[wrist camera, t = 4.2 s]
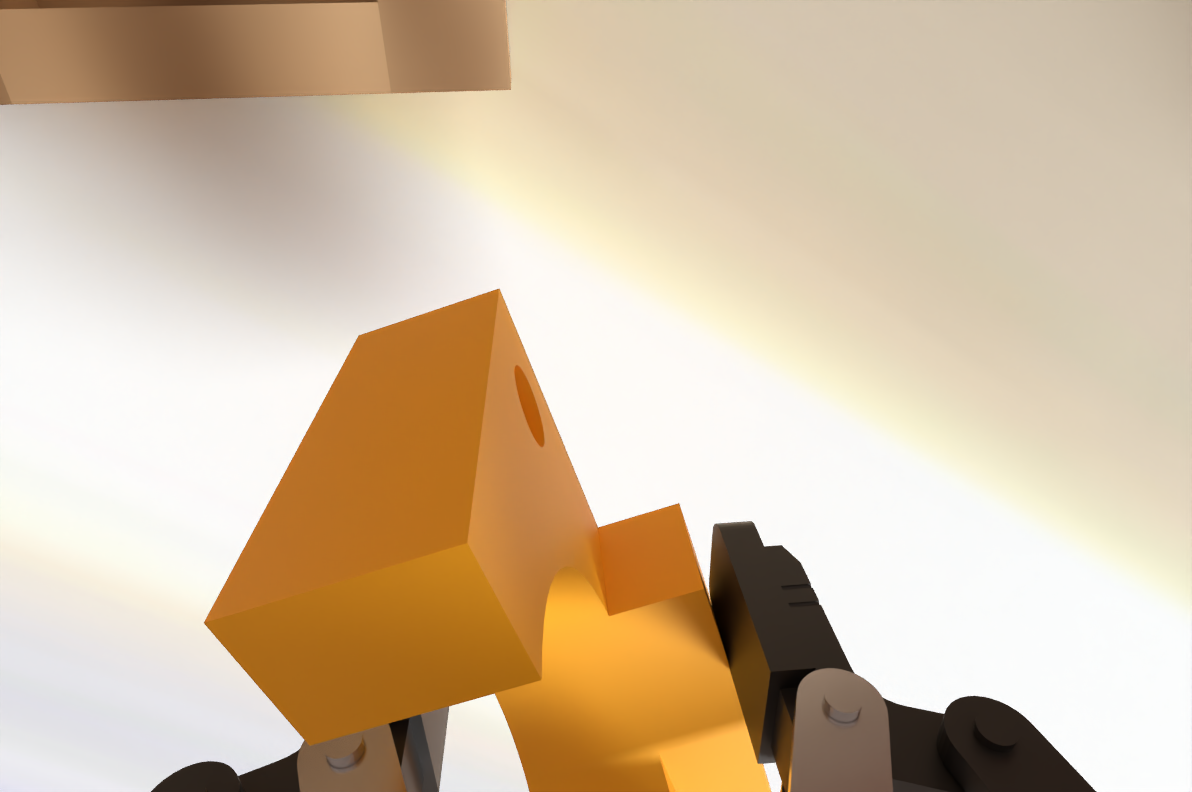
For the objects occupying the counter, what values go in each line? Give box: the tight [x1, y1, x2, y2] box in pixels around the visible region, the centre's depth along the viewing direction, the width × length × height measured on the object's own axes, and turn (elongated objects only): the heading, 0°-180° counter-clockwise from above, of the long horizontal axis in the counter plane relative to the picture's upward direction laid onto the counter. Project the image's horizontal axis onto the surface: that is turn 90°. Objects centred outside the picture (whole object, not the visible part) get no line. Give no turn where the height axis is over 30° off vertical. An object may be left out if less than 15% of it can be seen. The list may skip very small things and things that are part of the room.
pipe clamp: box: [204, 289, 771, 792], centre depth 12 cm, size 12×4×6 cm, turn 18°
